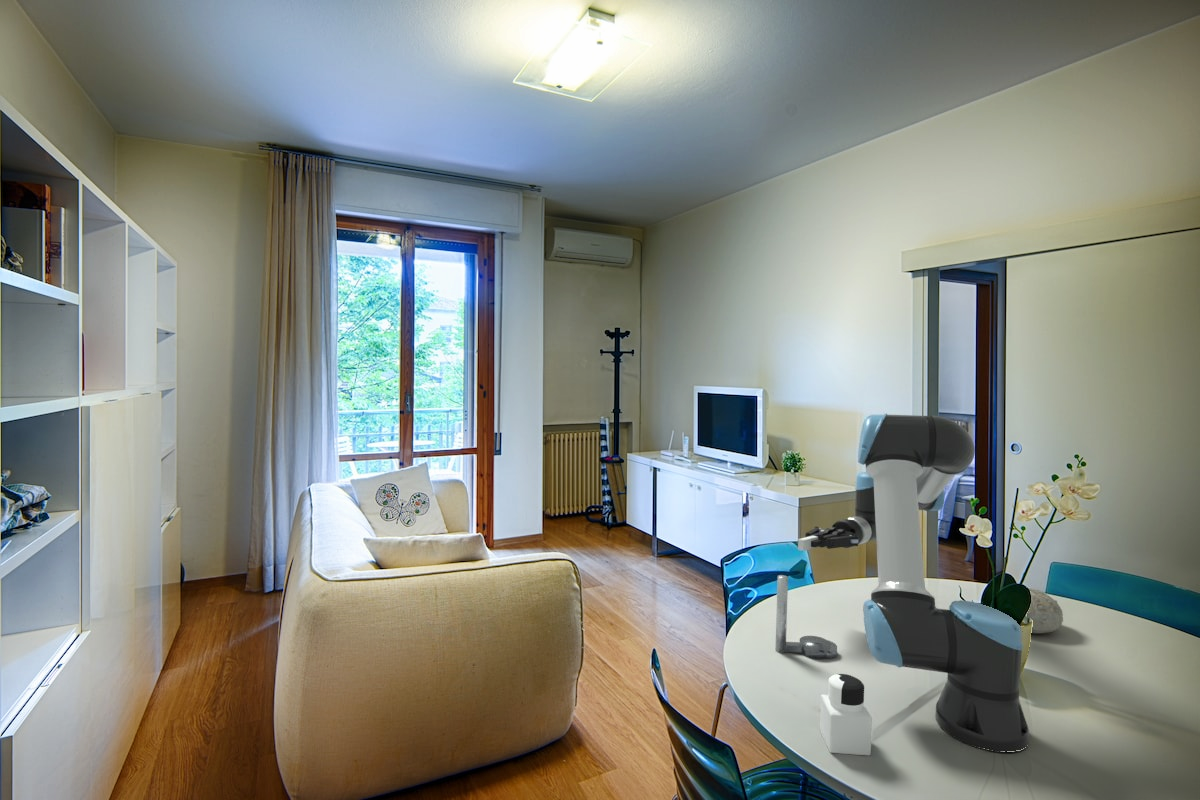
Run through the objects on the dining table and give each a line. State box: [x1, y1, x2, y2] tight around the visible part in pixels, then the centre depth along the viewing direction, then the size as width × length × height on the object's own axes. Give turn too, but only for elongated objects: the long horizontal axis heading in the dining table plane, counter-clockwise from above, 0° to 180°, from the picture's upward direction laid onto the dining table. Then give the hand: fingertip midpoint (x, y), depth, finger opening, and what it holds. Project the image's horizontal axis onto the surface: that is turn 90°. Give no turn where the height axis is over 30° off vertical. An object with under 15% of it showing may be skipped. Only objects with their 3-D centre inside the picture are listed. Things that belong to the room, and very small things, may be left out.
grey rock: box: [1027, 587, 1064, 634], centre depth 163 cm, size 18×18×10 cm
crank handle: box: [775, 574, 838, 660], centre depth 143 cm, size 14×7×18 cm, turn 85°
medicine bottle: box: [819, 673, 873, 756], centre depth 110 cm, size 7×7×12 cm
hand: (800, 545), depth 151 cm, fingers closed
